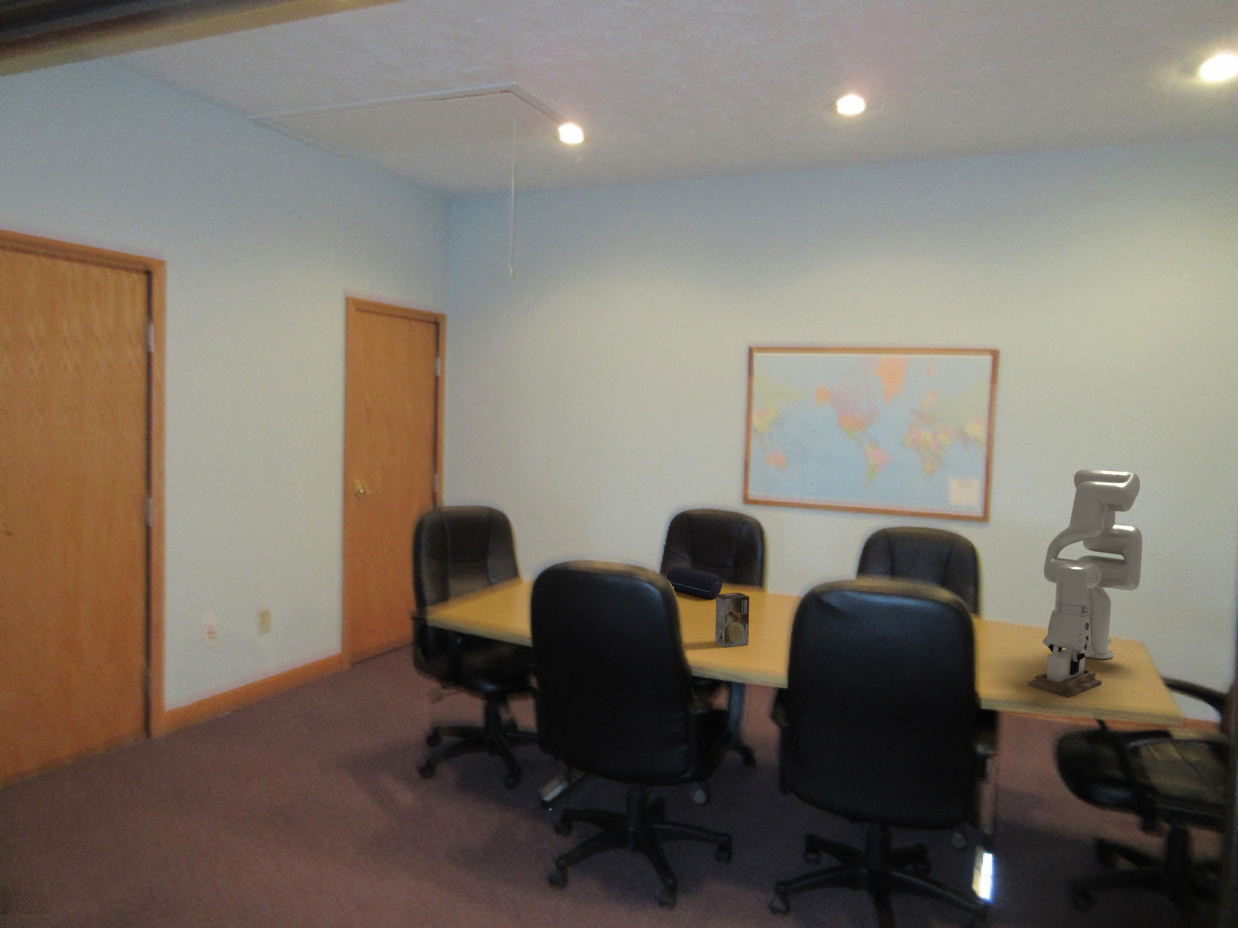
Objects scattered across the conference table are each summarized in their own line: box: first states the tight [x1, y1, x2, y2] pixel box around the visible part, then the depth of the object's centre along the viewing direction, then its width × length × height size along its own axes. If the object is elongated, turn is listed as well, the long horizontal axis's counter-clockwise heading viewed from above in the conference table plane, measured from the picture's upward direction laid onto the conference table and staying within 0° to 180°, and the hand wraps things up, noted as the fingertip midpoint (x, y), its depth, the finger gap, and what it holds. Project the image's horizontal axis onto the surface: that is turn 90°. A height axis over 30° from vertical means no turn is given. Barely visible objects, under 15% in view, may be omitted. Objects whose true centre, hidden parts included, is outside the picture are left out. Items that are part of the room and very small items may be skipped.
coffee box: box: [714, 592, 750, 648], centre depth 253 cm, size 9×6×16 cm
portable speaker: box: [666, 566, 723, 600], centre depth 319 cm, size 25×10×10 cm, turn 43°
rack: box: [1027, 668, 1103, 698], centre depth 222 cm, size 19×11×3 cm, turn 125°
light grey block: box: [1046, 648, 1086, 683], centre depth 221 cm, size 14×4×7 cm, turn 125°
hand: (1065, 670), depth 222 cm, fingers closed on light grey block, 3 cm apart
